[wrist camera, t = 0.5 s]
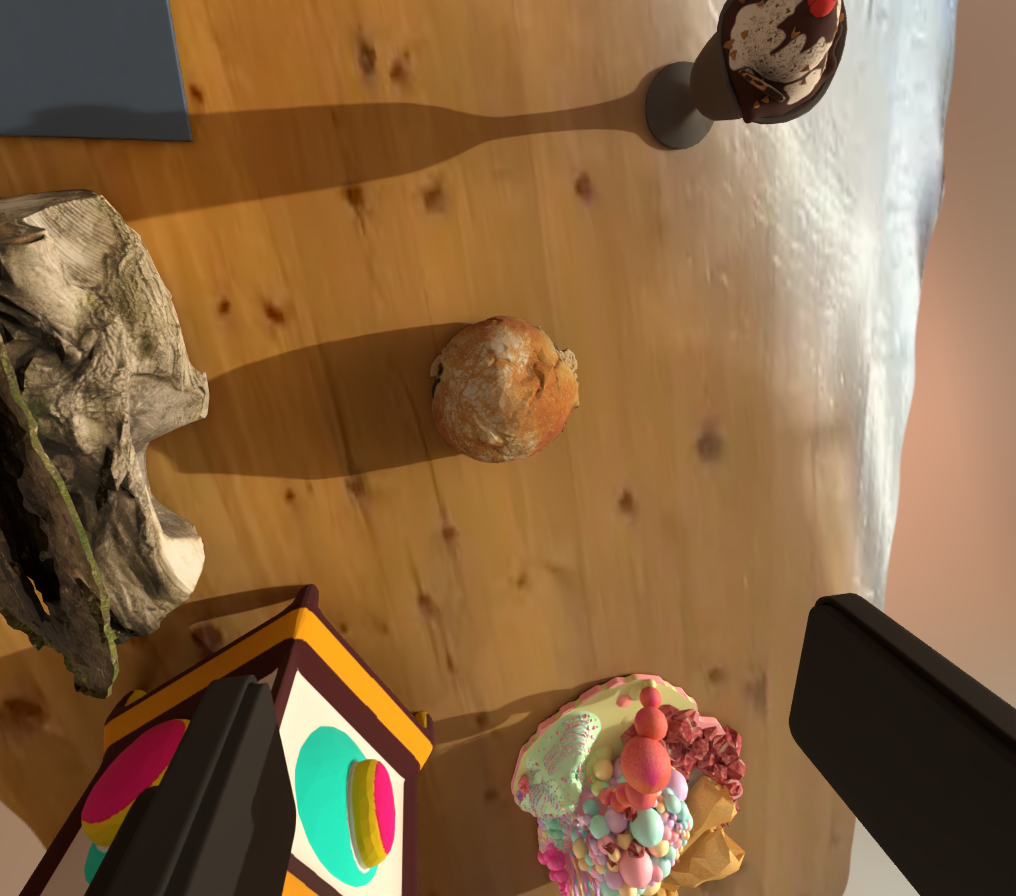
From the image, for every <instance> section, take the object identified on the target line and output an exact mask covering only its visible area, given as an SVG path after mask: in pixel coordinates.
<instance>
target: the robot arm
mask: <svg viewBox="0 0 1016 896" xmlns="http://www.w3.org/2000/svg"><path fill="white" fill-rule="evenodd" d="M789 727H790V731H791V734H792V736H793V738H794V740H795V741H796V743H797V744H798V746H799V747H800V748H801V749H802V751H803V752H804V753H805V754H806V755H807V757H808V758H809V759H810V760H811V762H812V763H813V764H814V765H815V767H816V768H817V769H818V770H819V771H820V773H821V774H822V775H823V776H824V778H825V779H826V780H827V781H828V783H829V784H830V785H831V786H832V788H833V789H834V790H835V791H836V792H837V794H838V795H839V796H840V797H841V799H842V800H843V801H844V802H845V804H846V805H847V806H848V807H849V808H850V810H851V811H852V812H853V813H854V815H855V816H856V817H857V818H858V820H859V821H860V822H861V823H862V824H863V826H864V827H865V828H866V829H867V831H868V832H869V833H870V834H871V836H872V837H873V838H874V839H875V840H876V842H877V843H878V844H879V845H880V847H881V848H882V849H883V850H884V852H885V853H886V854H887V855H888V856H889V858H890V859H891V860H892V861H893V863H894V864H895V865H896V866H897V867H898V869H899V870H900V871H901V872H902V874H903V875H904V876H905V877H906V879H907V880H908V881H909V882H910V884H911V885H912V886H913V887H914V889H915V890H916V891H917V892H918V893H919V895H920V896H1016V709H1015V708H1014V707H1012V706H1011V705H1010V704H1008V703H1007V702H1005V701H1004V700H1003V699H1001V698H1000V697H999V696H997V695H996V694H994V693H993V692H991V691H990V690H989V689H988V688H986V687H985V686H983V685H982V684H981V683H979V682H978V681H976V680H975V679H974V678H972V677H971V676H970V675H968V674H967V673H965V672H964V671H963V670H961V669H960V668H959V667H957V666H956V665H954V664H953V663H952V662H950V661H949V660H948V659H946V658H945V657H943V656H942V655H941V654H939V653H938V652H937V651H935V650H934V649H932V648H931V647H930V646H928V645H927V644H925V643H924V642H923V641H921V640H920V639H919V638H917V637H916V636H914V635H913V634H912V633H910V632H909V631H908V630H906V629H905V628H904V627H902V626H901V625H899V624H898V623H897V622H895V621H894V620H892V619H891V618H890V617H888V616H887V615H886V614H884V613H883V612H882V611H880V610H879V609H877V608H876V607H875V606H873V605H872V604H871V603H869V602H868V601H866V600H865V599H864V598H862V597H861V596H859V595H857V594H853V593H847V594H840V595H832V596H825V597H821V598H819V599H818V600H817V601H816V604H815V607H813V608H812V609H811V610H810V612H809V616H808V622H807V627H806V632H805V637H804V643H803V648H802V653H801V659H800V664H799V669H798V674H797V680H796V685H795V690H794V695H793V701H792V706H791V711H790V716H789ZM295 830H296V805H295V800H294V796H293V791H292V786H291V782H290V777H289V773H288V768H287V763H286V759H285V754H284V749H283V745H282V740H281V736H280V731H279V726H278V722H277V717H276V713H275V708H274V703H273V699H272V694H271V690H270V686H269V684H268V683H260V684H258V682H257V679H256V677H255V676H254V675H245V676H237V677H230V678H223V679H215V680H213V681H212V682H210V684H209V685H208V687H207V689H206V691H205V693H204V695H203V697H202V699H201V701H200V703H199V705H198V707H197V709H196V711H195V713H194V715H193V717H192V719H191V721H190V723H189V725H188V727H187V729H186V731H185V733H184V735H183V737H182V739H181V741H180V743H179V745H178V747H177V749H176V751H175V753H174V755H173V757H172V759H171V761H170V763H169V765H168V767H167V769H166V771H165V773H164V775H163V777H162V779H161V781H160V783H159V785H157V786H152V787H148V788H146V789H145V790H143V791H142V792H141V793H140V794H139V795H138V796H137V798H136V800H135V801H134V803H133V804H132V806H131V807H130V809H129V811H128V813H127V815H126V817H125V819H124V820H123V822H122V824H121V826H120V828H119V830H118V832H117V834H116V836H115V838H114V839H113V841H112V843H111V845H110V847H109V849H108V851H107V853H106V855H105V856H104V858H103V860H102V862H101V864H100V866H99V868H98V870H97V872H96V874H95V875H94V877H93V879H92V881H91V883H90V885H89V887H88V889H87V891H86V892H85V894H84V896H282V893H283V888H284V883H285V879H286V874H287V869H288V864H289V860H290V855H291V850H292V845H293V841H294V836H295Z"/></svg>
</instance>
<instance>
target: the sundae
mask: <svg viewBox="0 0 1016 896" xmlns="http://www.w3.org/2000/svg"><path fill="white" fill-rule="evenodd" d="M846 34H847V17H846V10H845V6H844V2H843V0H727V1H726V3H725V4H724V6H723V9H722V11H721V13H720V16H719V21H718V26H717V32H716V33H715V34H714V35H713V36H712V38H711V39H710V40H709V41H708V42H707V43H706V45H705V46H704V48H703V49H702V51H701V52H700V54H699V55H698V57H697V59H696V60H695V63H692V62H677V63H674V64H671V65H669V66H668V67H666V68H664V69H663V70H662V71H661V72H660V73H659V74H658V76H657V77H656V78H655V79H654V81H653V83H652V85H651V87H650V90H649V93H648V96H647V103H646V115H647V120H648V124H649V126H650V129H651V131H652V133H653V134H654V136H655V137H656V138H657V139H658V140H659V142H661V143H662V144H664V145H665V146H667V147H670V148H672V149H686V148H689V147H691V146H693V145H695V144H697V143H699V142H700V141H701V140H702V139H703V138H704V137H705V136H706V134H707V133H708V132H709V130H710V128H711V126H712V124H713V122H714V121H719V120H734V119H740V118H743V120H744V122H745V123H751V122H754V123H758V124H776V123H784V122H788V121H790V120H793V119H795V118H798V117H800V116H802V115H803V114H805V113H807V112H809V111H810V110H811V109H812V108H813V107H814V106H815V105H816V104H817V103H818V102H819V101H820V100H821V98H822V97H823V96H824V95H825V93H826V91H827V89H828V87H829V85H830V83H831V81H832V79H833V77H834V75H835V73H836V70H837V68H838V66H839V63H840V61H841V57H842V54H843V50H844V46H845V40H846Z"/></svg>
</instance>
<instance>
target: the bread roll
mask: <svg viewBox="0 0 1016 896" xmlns="http://www.w3.org/2000/svg"><path fill="white" fill-rule="evenodd" d="M577 368H578V366H577V361H576V359H575V356H574V353H572V352H571V351H570V350H569V349H567V348H566V350H563V351H558V349H557V346H556V345H555V344H554V343H552V342H551V340H550V338H549V337H548V335H547V333H544V332H543V331H542V329H541V327H540V326H537V325H533V324H528V323H526V322H525V321H524V320H523V319H518V318H514V317H509V316H497V317H492V318H489V319H487V320H485V321H481V322H478V323H475V324H472V325H470V326H468V327H466V328H464V329H463V330H462V331H460V332H459V333H458V334H457V335H455V336H454V337H453V338H452V339H451V340H450V342H449V343H448V344H447V345H446V346H445V347H444V348H443V349H442V350H441V355H438V356H437V357H436V358H435V361H434V362H433V364H432V366H431V369H430V377H432V378H435V382H434V385H433V390H432V395H433V400H432V403H431V404H432V414H433V419H434V422H435V425H436V427H437V429H438V431H439V433H440V434H441V436H442V437H443V438H444V439H445V440H446V441H447V443H448V444H449V445H450V446H452V447H453V448H454V449H456V450H457V451H459V452H460V453H462V454H464V455H466V456H468V457H471V458H473V459H476V460H479V461H482V462H489V463H499V462H509V461H512V460H515V459H521V458H525V457H529V456H531V455H533V454H535V453H536V452H538V451H541V450H542V449H543V448H544V447H546V446H547V445H548V444H550V443H551V442H552V441H554V440H555V438H556V437H557V436H558V435H559V433H560V432H563V429H564V425H565V424H566V421H567V418H568V416H569V414H570V413H571V412H572V410H573V409H574V408H577V407H578V406H579V401H578V386H579V381H577V374H576V373H575V370H576V369H577Z"/></svg>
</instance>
